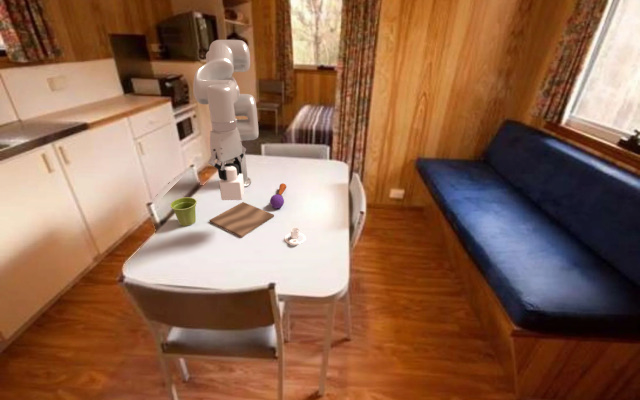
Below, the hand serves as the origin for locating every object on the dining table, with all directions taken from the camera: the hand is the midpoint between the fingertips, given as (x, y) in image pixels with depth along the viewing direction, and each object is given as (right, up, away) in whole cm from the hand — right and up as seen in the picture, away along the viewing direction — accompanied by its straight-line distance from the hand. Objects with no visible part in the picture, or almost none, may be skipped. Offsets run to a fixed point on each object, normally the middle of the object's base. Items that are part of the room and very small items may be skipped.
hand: (230, 175), depth 108 cm
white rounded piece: (+19, -24, +6) cm, 31 cm away
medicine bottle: (0, -7, +4) cm, 8 cm away
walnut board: (0, -17, +17) cm, 24 cm away
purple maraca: (+13, -9, +33) cm, 36 cm away
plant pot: (-21, -18, +14) cm, 31 cm away
